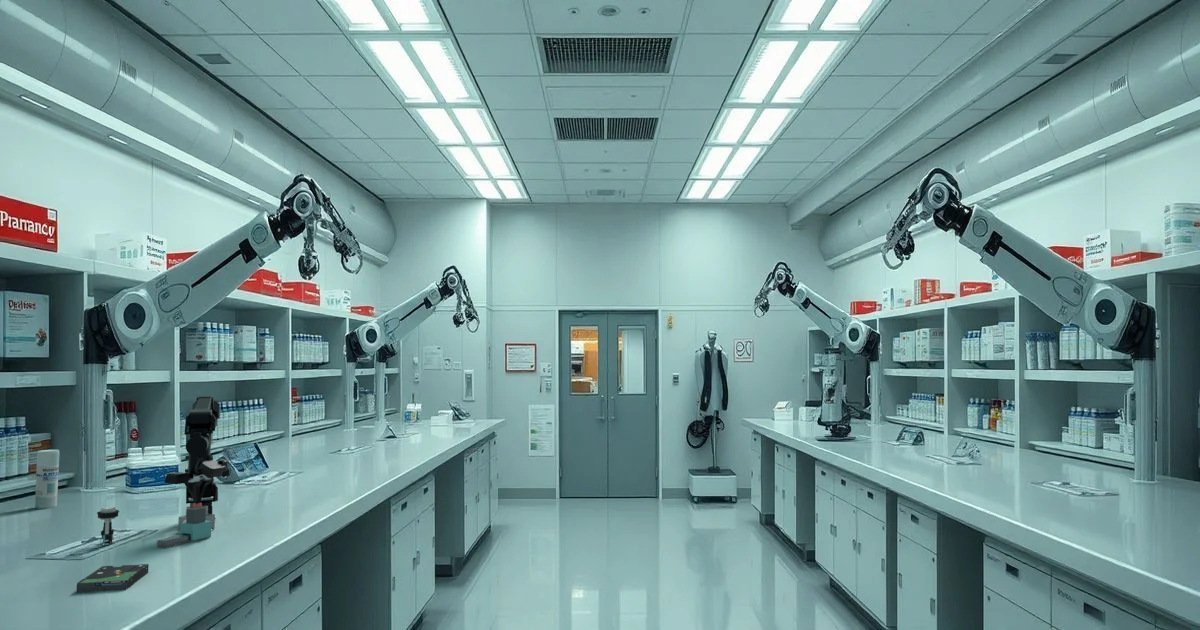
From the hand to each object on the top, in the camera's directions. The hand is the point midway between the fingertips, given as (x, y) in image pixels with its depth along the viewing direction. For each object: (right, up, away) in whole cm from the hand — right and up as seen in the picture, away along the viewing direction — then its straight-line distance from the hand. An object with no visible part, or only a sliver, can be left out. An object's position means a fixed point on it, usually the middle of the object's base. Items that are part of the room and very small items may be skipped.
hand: (197, 503), depth 233 cm
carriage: (+6, -7, -12) cm, 15 cm away
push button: (-16, -7, -18) cm, 25 cm away
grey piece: (0, -8, -1) cm, 8 cm away
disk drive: (+10, -5, -55) cm, 57 cm away
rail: (+5, -7, -15) cm, 18 cm away
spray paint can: (-74, -11, +38) cm, 84 cm away
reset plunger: (0, -3, 0) cm, 2 cm away
